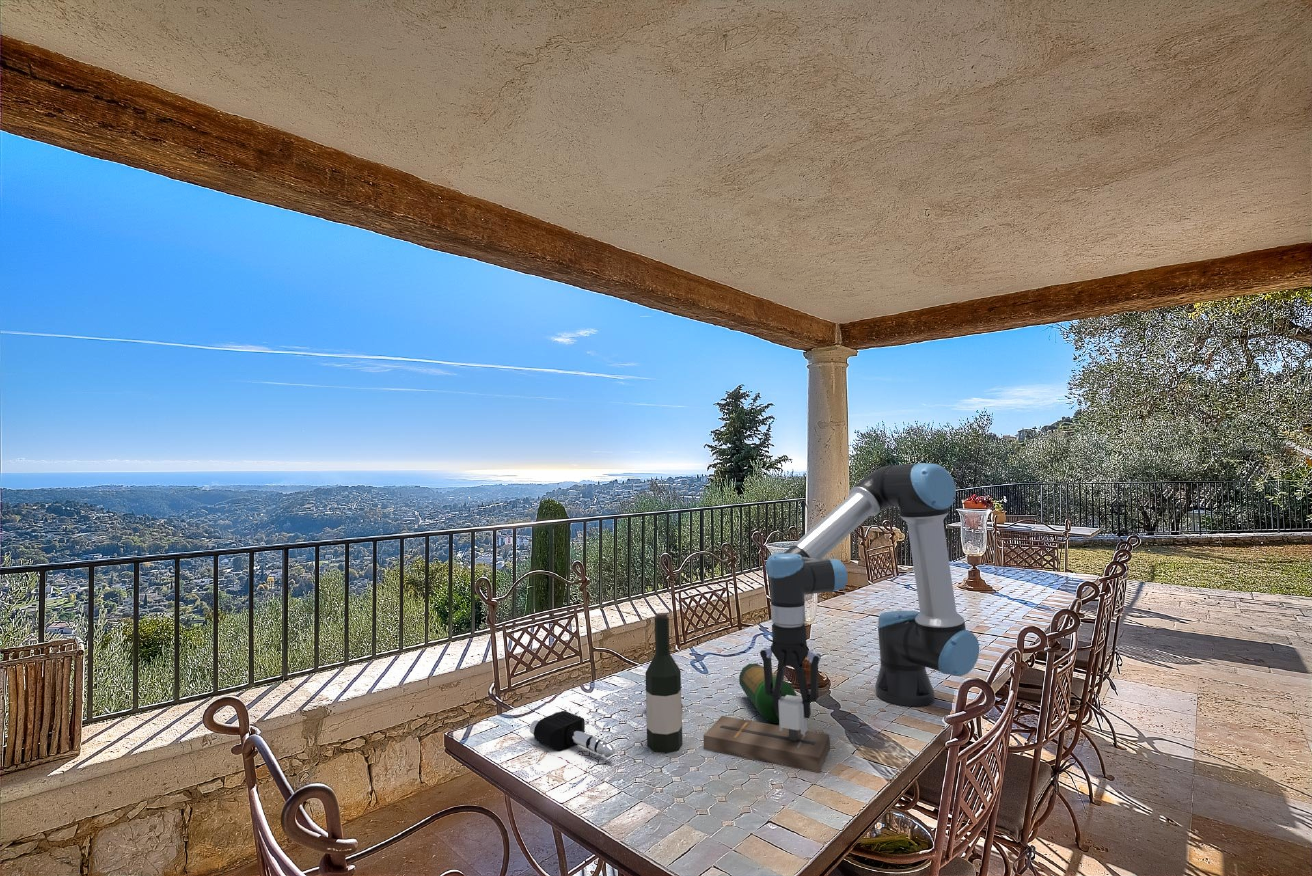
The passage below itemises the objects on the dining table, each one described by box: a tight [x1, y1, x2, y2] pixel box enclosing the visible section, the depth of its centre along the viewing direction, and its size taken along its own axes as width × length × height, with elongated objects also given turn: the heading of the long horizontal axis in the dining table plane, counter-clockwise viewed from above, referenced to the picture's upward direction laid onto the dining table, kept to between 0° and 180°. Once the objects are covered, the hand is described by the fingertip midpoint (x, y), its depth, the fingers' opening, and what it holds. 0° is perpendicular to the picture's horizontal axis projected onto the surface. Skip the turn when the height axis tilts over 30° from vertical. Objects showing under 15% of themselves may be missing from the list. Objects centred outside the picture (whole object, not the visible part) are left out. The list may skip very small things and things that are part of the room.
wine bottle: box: [645, 612, 684, 754], centre depth 133 cm, size 8×8×30 cm
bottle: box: [738, 663, 798, 724], centre depth 148 cm, size 11×11×28 cm
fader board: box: [703, 715, 831, 773], centre depth 129 cm, size 26×12×3 cm, turn 63°
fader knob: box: [780, 695, 802, 741], centre depth 127 cm, size 4×6×8 cm, turn 153°
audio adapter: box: [529, 710, 616, 758], centre depth 132 cm, size 11×5×25 cm
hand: (793, 729), depth 126 cm, fingers closed on fader knob, 4 cm apart
